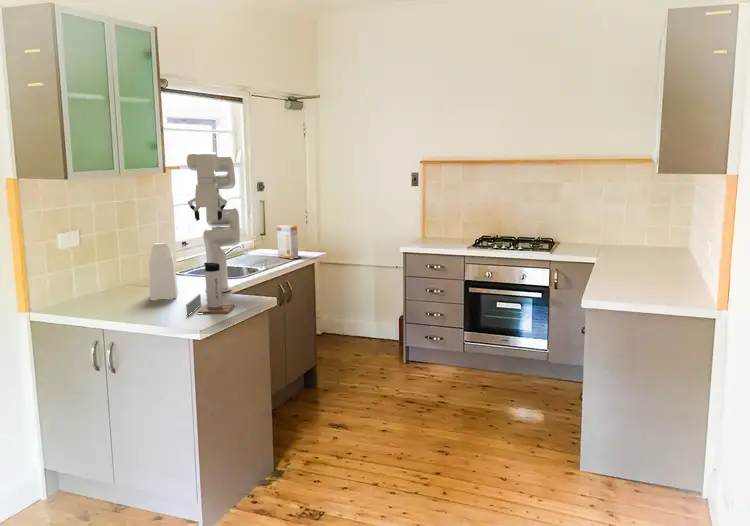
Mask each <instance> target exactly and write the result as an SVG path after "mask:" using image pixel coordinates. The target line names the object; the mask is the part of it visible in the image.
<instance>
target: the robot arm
mask: <svg viewBox="0 0 750 526" xmlns="http://www.w3.org/2000/svg"><path fill="white" fill-rule="evenodd" d="M186 165H187V167H188V170H191V171H196V176H197V178H196V179H197V184H196V185H195V193H194V197H193V198H192V199H191V200H188V201H187V204H188V206H189V208H190V209H191V210H192V211H193V213H194V219H195V221H196V222H198V221H200V219H201V218H200V211H199V210H200V208H205V212H206V213H205V214H206V215H205V216H206V219H205V220H206V223H207V225H208V226H210V227H207V228H206V229H205V230H204V231H203V235H202V236H203V241H204V248H205V253H206V263H217V264H219V265H220V278H221V293H225V292H230V291H231V290H232V286H230V285H229V279H228V277H229V276H228V264H227V254H226V252H225V250H223V249H222V248H221V247H233V246H234V247H235V246H237V245H239V244H240V242H241V241H240V240H241V230H240V229H241V228H240V225H241V224H240V214H239V213H240V212H239V211H238V209H237V208H236V207H233V206H227V203H228V200H226V199H225V198H223V197H222V196H221V194H220V191H219V190H230V189H234V187H235V186H236V175H235V164H234V161H233V158H232V156H231V155H227V154H225V155H224V154H222V155H221V154H219V155H218V154H217V153H216V152H214V151H213V152H212V151H209V152H207V151H205V152H189V153H188V154H187V157H186ZM194 202H195V203H194ZM193 203H194V204H195V206H194V204H193ZM204 289H205V292H206V293H207V291H206V288H204Z"/></svg>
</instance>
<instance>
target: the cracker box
mask: <svg viewBox="0 0 750 526" xmlns="http://www.w3.org/2000/svg"><path fill="white" fill-rule="evenodd" d="M276 229H277V230H276V232H277V233H276V234H277V251H278V252H277V256H278V258H279V257H282V258H281V259H284V258H295V257H298V258H299V245H298V244H299V243H298V242H299V241H298V239H299V238H298V226H296V225H288V224H280V225H277V226H276Z"/></svg>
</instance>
